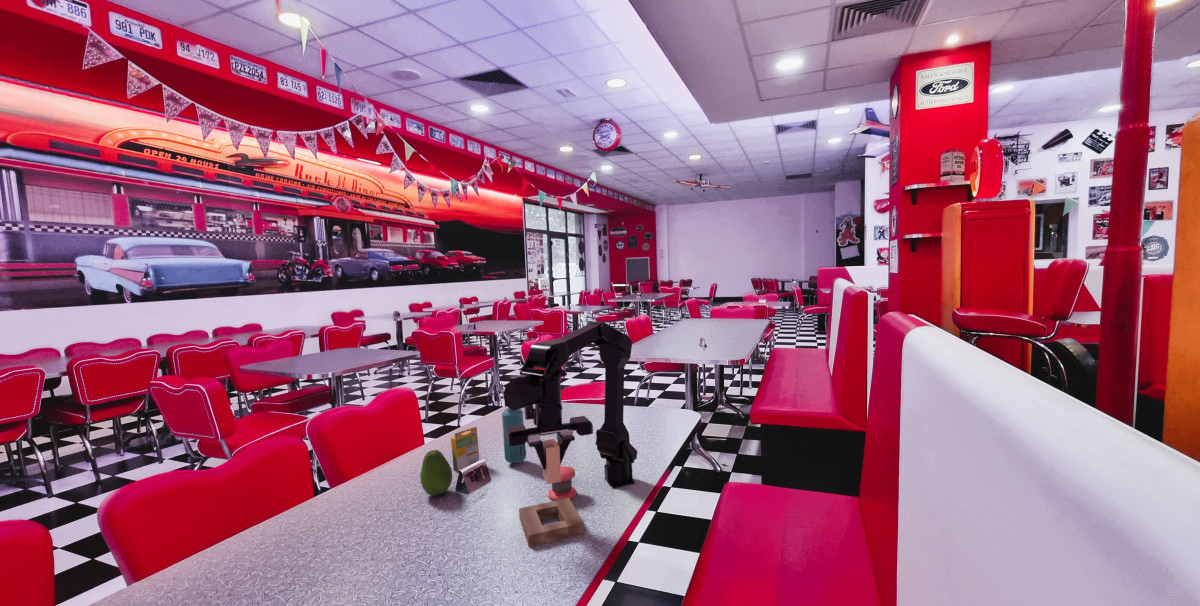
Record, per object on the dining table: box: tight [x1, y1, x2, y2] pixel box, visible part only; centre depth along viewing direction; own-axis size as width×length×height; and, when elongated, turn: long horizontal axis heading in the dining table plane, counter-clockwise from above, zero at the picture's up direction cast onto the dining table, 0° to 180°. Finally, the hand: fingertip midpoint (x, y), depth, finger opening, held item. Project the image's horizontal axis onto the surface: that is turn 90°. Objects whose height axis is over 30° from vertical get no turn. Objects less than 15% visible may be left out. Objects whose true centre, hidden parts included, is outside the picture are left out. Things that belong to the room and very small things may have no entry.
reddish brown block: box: [541, 438, 561, 485], centre depth 106 cm, size 3×5×8 cm, turn 18°
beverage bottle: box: [501, 402, 527, 464], centre depth 141 cm, size 6×7×20 cm
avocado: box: [419, 449, 453, 497], centre depth 124 cm, size 8×8×12 cm
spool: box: [547, 465, 577, 502], centre depth 120 cm, size 7×7×6 cm
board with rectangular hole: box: [518, 498, 585, 548], centre depth 106 cm, size 12×12×2 cm
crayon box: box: [450, 426, 480, 473], centre depth 141 cm, size 7×3×12 cm, turn 134°
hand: (551, 467), depth 106 cm, fingers closed on reddish brown block, 3 cm apart
